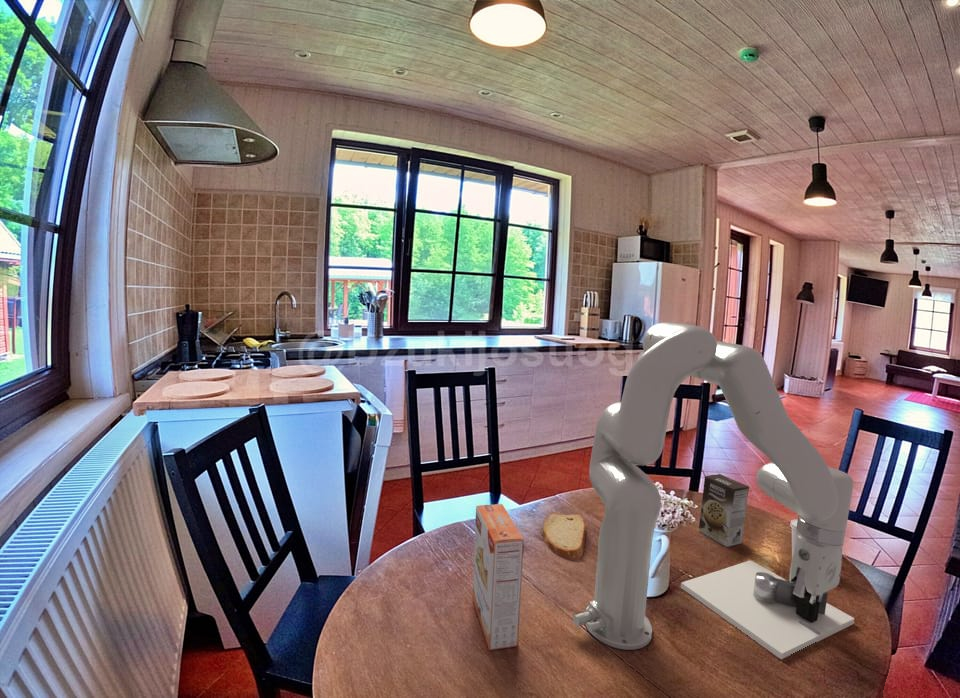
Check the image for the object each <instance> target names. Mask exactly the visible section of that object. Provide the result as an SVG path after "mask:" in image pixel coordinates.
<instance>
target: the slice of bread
mask: <svg viewBox="0 0 960 698" xmlns="http://www.w3.org/2000/svg"><path fill="white" fill-rule="evenodd" d="M541 534H542V536H543V538H542V539H543V541H544V543H545V545H546V546H547V547H548V549H549V550H550V551H552V552H553V553H554V554H556V555H557V556H559V557H561V558H564V559H567V560H571V561H572V560H573V561H576V560H580V559H581V558H582V556H583V554H584V551H585V543H586V538H587V537H586V536H587V526H586V523H585V520H584V517H583V516H582V515H581V514H561V513H558V512H552V513H550V514H548V516H547V517H546V518H545V520H544V522H543V524H542V531H541Z"/></svg>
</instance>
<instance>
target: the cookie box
mask: <svg viewBox="0 0 960 698" xmlns="http://www.w3.org/2000/svg"><path fill="white" fill-rule="evenodd" d="M749 490H750V486H748V485H746V484H744V483H742V482H739V481H736V480H734V479H732V478H730V477H728V476H726V475H723V474H720V473H718V474H710V475H706V476H704V481H703V489H702V499H701V505H700V515H699V522H698V523H699V525H698V532H700V533H702V534H703V535H705V536H706V537H708V538H709V539H712V540H714V542H715V541H716V542H717V543H718V544H721V545H722V546H724V547H725V548H729V547H731V546H732V547H733V546H735V545H740V544H742V543H743V542H742V541H743V533H744V528H745V527H744V526H745V520H746V519H745V518H746V514H747V513H746V511H747V506H748V505H747V504H748V500H749V499H748V498H749Z"/></svg>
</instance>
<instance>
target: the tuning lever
mask: <svg viewBox="0 0 960 698" xmlns="http://www.w3.org/2000/svg"><path fill="white" fill-rule="evenodd" d="M794 587H795V584H791V583H790V580H787V581H786V579H785V580H782V579H777V578H775V577H774V576H772V575H770V574H768V573H764V572H757V573H756V576H755V584H754V592H753V595H754V597H755V598H756V599H758V600H759V601H761V602H764V603H767V604H773V603H775V602H776V603H780V604H784V605H788V606H792V607H797V601H798V596H796V595H795V594H793V591H794ZM828 596H829V595H828V591H827V592H825V593H823V595H822V599H821V601H820V602H819V601H818V602H819V603H820V607H819V613H820V614H824V615H825V609H826V603H827V601H828Z"/></svg>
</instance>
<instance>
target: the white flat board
mask: <svg viewBox="0 0 960 698" xmlns="http://www.w3.org/2000/svg"><path fill="white" fill-rule="evenodd" d="M757 572H764V573H768V574H770V575H772V576H774V577H775V578H777V579H782V580H786V579H785V578H783V577H781V576H780V575H778V574H776V573H774V572H772V571H770V570H769V569H767V568H765V567H764V566H761V565H760V564H758V563H756V562H755V561H753V560H747V561H744V562H741V563H738V564H734V565H731V566H728V567H726V568H721V569H720V570H717V571H713V572H709V573H707V574H704V575H701V576H700V575H699V576H697V577H695V578H691V579H688V580H684V581H682V582H681V583H680V589H682V590H683V591H684V592H686V593H687V594H689V595H690V596H691V597H693V598H694V599H696V600H697V601H699V602H700V603H701V604H703V605H704V606H705V607H706V608H708V609H710V611H712V612H714V613H715V614H716V615H718V616H719V617H721V618H722V619H724V620H726V622H728V623H729V624H731V625H732V626H733V625H734V627H735V628H736V627H737V628H736V629H737V630H739V631H740V630H741V632H742V633H743V634H744V635H746V636H747V635H748V636H747V637H749V638H750V639H752V640H753V641H754V640H755V641H754V642H755V643H758V645H760V646H762V647H763V648H764V649H766V650H767V651H769V652H770V653H771V654H772V655H774V656H775V657H777V658H778V659H780V660H783V659H785V658H788V657H790V656H791V654H792V655H794V654H796V653H797V651H798V652H799V650H800V651H802V650H804V649H806V648H808V647H809V645H810V646H812V645H814V644H815V642H816V643H818V642H820V641H822V640H824V639H825V638H826V639H827V638H829V637H831V636H832V635H834V634H836V633H838V632H840V631H843V630H844V629H847V628H848V627H850V626H853V625H854V623H855V619H856V618H854V617H853V616H851V615H849V614H847V613H846V612H844V611H842V610H840V609H839V608H837V607H835V606H834V605H831V604H829V603H827V602H826V609H825V615H824V614H820V613H818V619H817V621H815V622H813V623H811V622H809V621H807V620H806V619H804V618H802V617H800V616H799V615H797V614H796V607H792V606H788V605H784V604H780V603H776V602H775V603H773V604H767V603H764V602H761V601H759V600H758V599H756V598H755V597H754V595H753V592H754V584H755V576H756V573H757ZM786 581H788V580H786ZM813 643H814V644H813ZM811 644H812V645H811ZM807 646H808V647H807ZM805 647H806V648H805ZM803 648H804V649H803ZM801 649H802V650H801ZM795 652H796V653H795ZM793 653H794V654H793Z"/></svg>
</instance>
